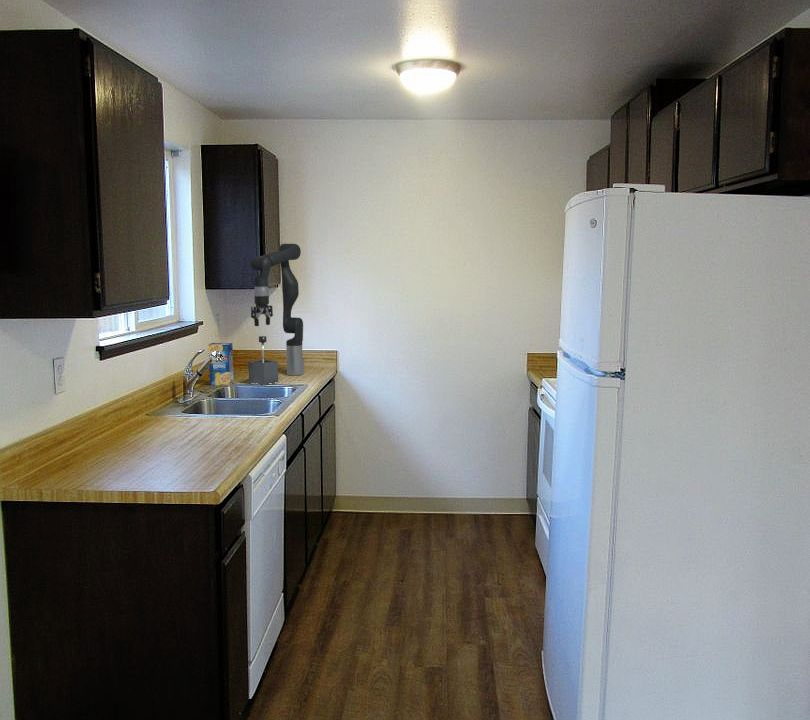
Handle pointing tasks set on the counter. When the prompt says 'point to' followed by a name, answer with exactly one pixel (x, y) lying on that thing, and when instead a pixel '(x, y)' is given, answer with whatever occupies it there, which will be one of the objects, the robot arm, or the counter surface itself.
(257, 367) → the gray open box
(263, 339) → the plunger
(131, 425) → the counter surface
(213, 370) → the beverage box
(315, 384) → the counter surface
